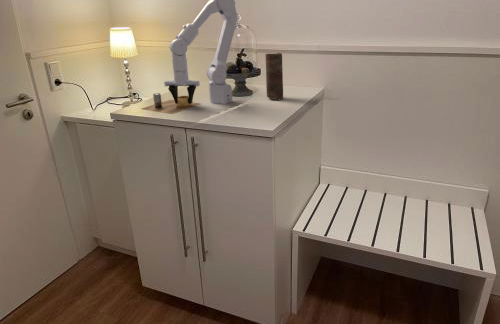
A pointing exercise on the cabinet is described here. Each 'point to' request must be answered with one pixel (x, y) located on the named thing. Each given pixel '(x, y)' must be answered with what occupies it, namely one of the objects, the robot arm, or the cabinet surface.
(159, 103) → the steel piston
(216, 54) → the robot arm
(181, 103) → the wooden barrel ring
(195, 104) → the walnut board
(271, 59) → the candle
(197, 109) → the cabinet surface
